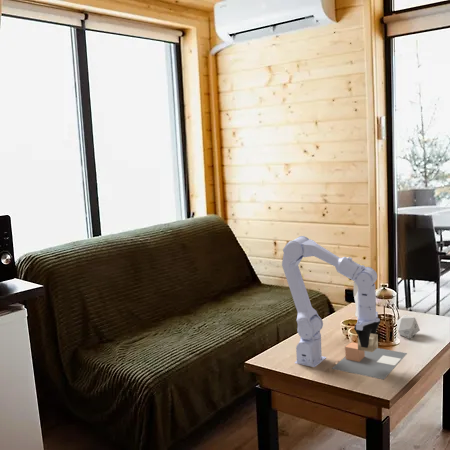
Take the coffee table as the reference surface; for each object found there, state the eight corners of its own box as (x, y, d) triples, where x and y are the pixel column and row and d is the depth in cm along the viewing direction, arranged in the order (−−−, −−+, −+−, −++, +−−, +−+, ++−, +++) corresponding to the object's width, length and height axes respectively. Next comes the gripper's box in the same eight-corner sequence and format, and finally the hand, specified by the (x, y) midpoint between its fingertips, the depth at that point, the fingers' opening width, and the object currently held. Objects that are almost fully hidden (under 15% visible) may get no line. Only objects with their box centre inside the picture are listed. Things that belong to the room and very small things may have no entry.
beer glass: (360, 312, 245) (359, 279, 243) (373, 315, 240) (373, 281, 238) (350, 316, 241) (349, 282, 239) (364, 319, 236) (363, 285, 233)
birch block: (372, 352, 182) (372, 339, 182) (357, 349, 185) (357, 336, 184) (377, 347, 186) (377, 334, 186) (363, 344, 189) (363, 332, 188)
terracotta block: (359, 361, 192) (358, 349, 192) (345, 359, 195) (345, 346, 194) (364, 356, 196) (364, 344, 196) (351, 354, 199) (350, 342, 198)
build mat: (383, 380, 178) (383, 379, 178) (331, 370, 188) (331, 368, 188) (407, 354, 197) (407, 352, 197) (358, 346, 207) (358, 344, 207)
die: (397, 341, 211) (413, 324, 207) (386, 325, 217) (401, 307, 213) (412, 344, 215) (428, 327, 211) (401, 328, 221) (416, 311, 217)
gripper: (370, 313, 175) (371, 353, 177) (386, 300, 187) (386, 338, 189) (349, 310, 179) (350, 350, 182) (366, 297, 191) (366, 335, 193)
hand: (367, 344), depth 186 cm, fingers closed on birch block, 5 cm apart
